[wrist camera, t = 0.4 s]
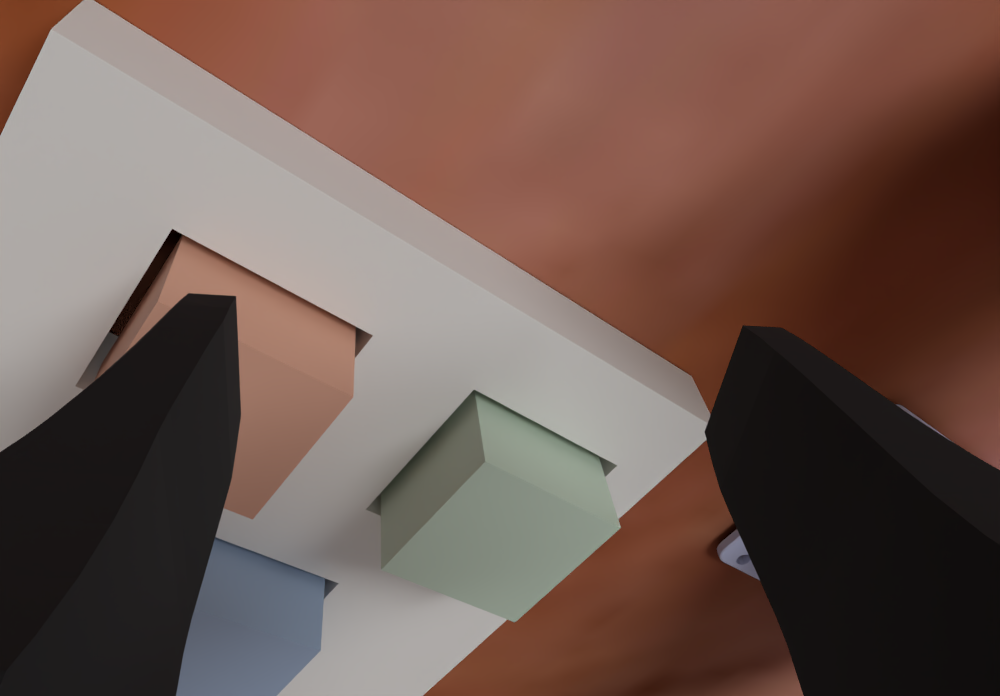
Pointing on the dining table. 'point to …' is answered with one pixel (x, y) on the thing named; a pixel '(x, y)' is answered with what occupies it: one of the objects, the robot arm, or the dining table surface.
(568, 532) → the sage button
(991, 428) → the dining table surface
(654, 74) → the dining table surface
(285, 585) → the slate button
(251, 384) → the terracotta button
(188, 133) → the white button panel
